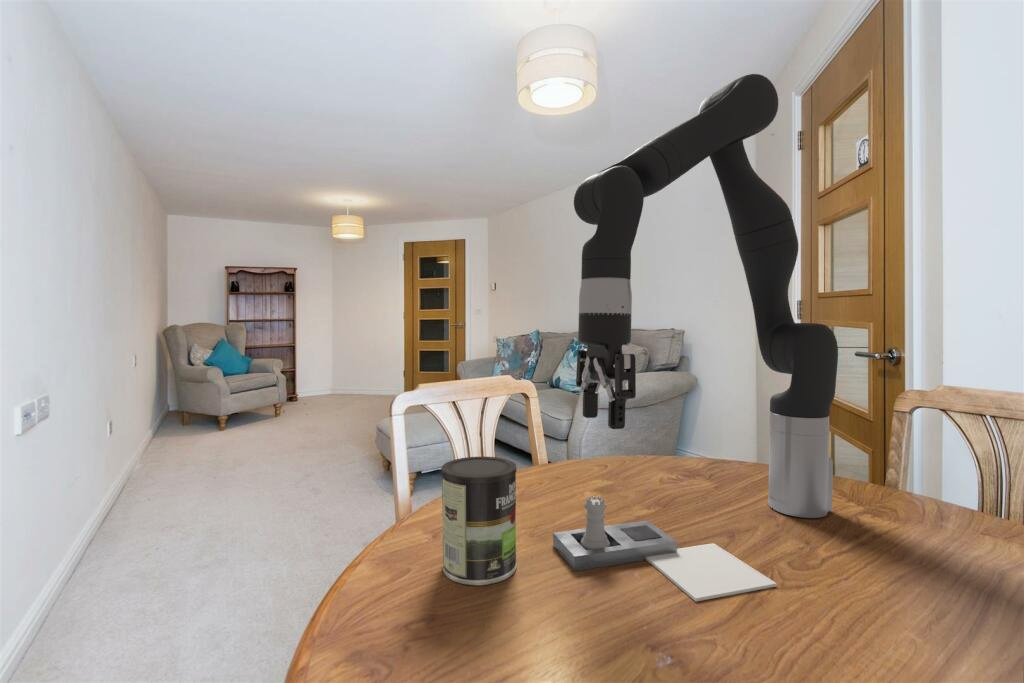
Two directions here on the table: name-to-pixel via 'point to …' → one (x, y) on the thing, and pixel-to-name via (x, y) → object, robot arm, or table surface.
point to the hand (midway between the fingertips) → (602, 422)
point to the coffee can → (479, 520)
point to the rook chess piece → (595, 525)
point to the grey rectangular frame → (615, 545)
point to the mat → (709, 572)
